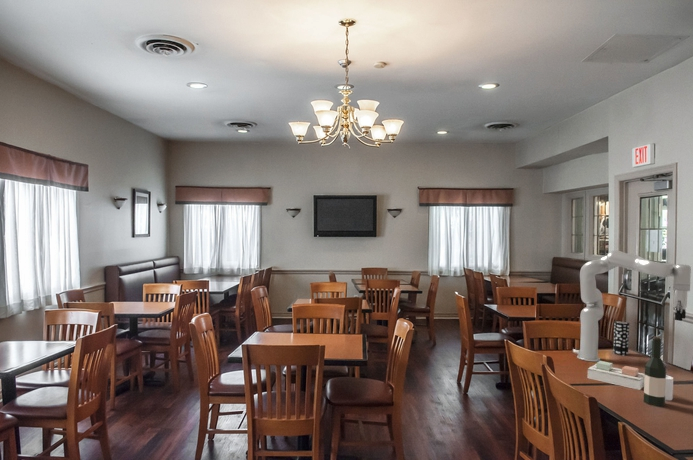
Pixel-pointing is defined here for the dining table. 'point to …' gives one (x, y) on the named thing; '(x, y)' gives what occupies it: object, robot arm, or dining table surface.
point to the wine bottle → (655, 376)
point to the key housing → (616, 377)
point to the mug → (669, 388)
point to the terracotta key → (630, 371)
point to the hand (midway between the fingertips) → (680, 319)
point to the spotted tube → (621, 338)
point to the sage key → (604, 365)
